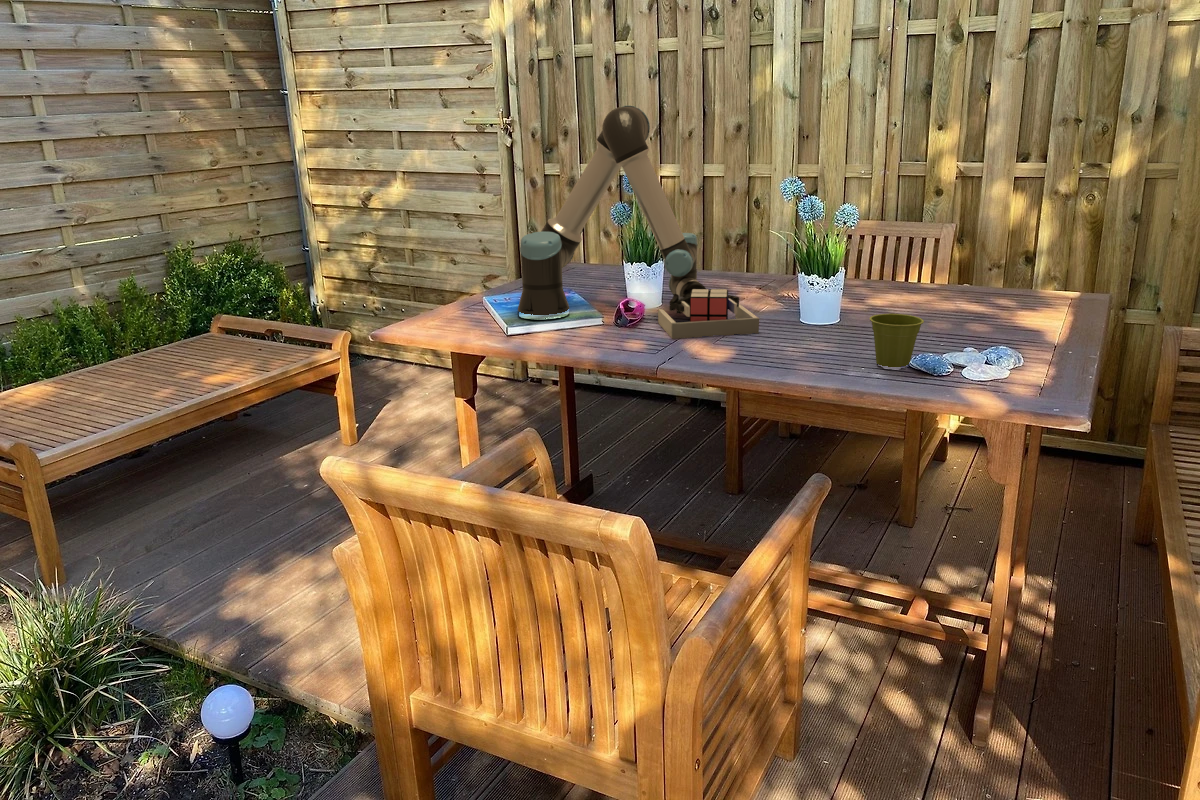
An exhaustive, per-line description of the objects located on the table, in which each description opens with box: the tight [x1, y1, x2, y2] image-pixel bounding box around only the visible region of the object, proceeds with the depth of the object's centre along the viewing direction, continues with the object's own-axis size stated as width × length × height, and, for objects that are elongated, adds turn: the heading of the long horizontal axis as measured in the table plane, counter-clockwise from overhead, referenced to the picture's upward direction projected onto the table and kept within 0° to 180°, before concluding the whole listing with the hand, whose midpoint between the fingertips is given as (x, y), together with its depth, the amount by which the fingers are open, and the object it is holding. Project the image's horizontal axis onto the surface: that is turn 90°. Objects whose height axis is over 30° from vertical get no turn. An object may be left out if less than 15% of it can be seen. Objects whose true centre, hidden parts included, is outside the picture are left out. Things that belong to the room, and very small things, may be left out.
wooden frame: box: [657, 303, 760, 340], centre depth 253 cm, size 18×23×4 cm
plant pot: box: [868, 313, 925, 367], centre depth 214 cm, size 12×12×11 cm
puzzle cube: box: [688, 288, 729, 322], centre depth 251 cm, size 10×10×10 cm
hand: (712, 310), depth 247 cm, fingers closed on puzzle cube, 12 cm apart
